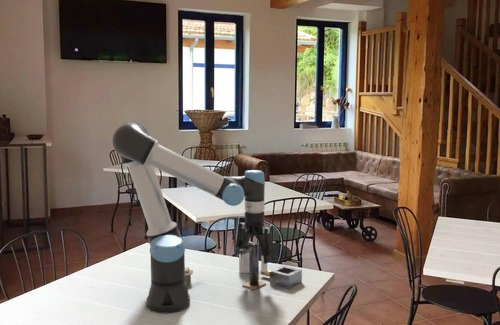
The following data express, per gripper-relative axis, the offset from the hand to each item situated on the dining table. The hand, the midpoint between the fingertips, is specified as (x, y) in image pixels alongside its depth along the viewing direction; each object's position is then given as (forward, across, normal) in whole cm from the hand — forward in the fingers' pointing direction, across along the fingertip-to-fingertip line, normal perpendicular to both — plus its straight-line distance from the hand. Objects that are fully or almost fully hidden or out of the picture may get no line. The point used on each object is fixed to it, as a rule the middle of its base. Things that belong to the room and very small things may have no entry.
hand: (254, 268), depth 195 cm
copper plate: (+7, 0, 0) cm, 7 cm away
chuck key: (+6, 0, -3) cm, 7 cm away
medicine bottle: (+7, -12, +12) cm, 19 cm away
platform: (+8, -23, -16) cm, 29 cm away
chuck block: (+7, +5, +10) cm, 13 cm away
